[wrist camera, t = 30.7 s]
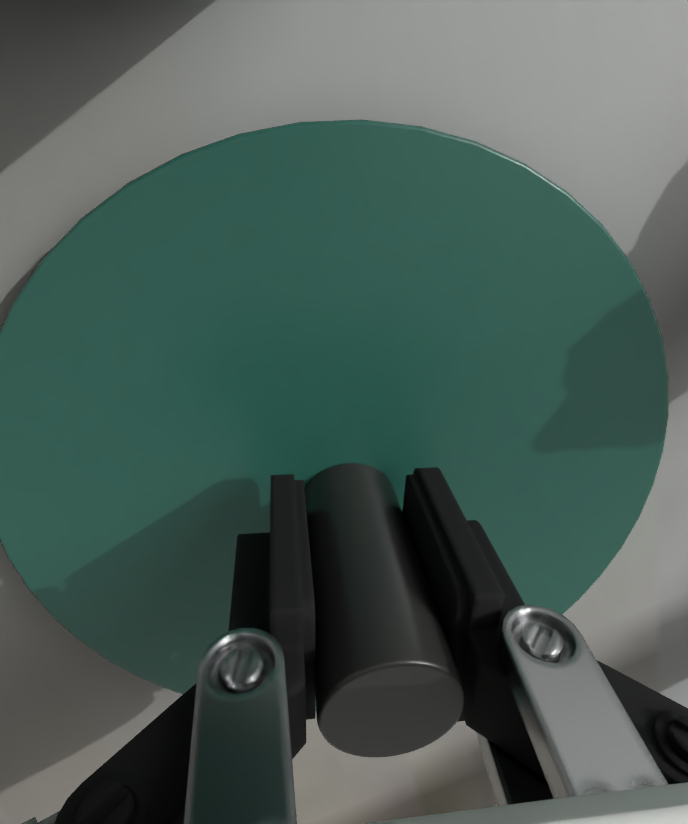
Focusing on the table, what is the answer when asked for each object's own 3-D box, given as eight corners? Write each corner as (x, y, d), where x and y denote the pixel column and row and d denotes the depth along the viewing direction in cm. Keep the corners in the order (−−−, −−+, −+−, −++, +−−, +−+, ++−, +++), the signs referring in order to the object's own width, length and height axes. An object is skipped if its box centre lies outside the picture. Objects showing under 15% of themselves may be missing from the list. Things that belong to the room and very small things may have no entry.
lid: (-112, 105, 9) (-809, 28, 3) (733, 135, 11) (1247, 122, 5) (81, 701, 17) (-23, 1002, 11) (564, 655, 19) (697, 887, 13)
